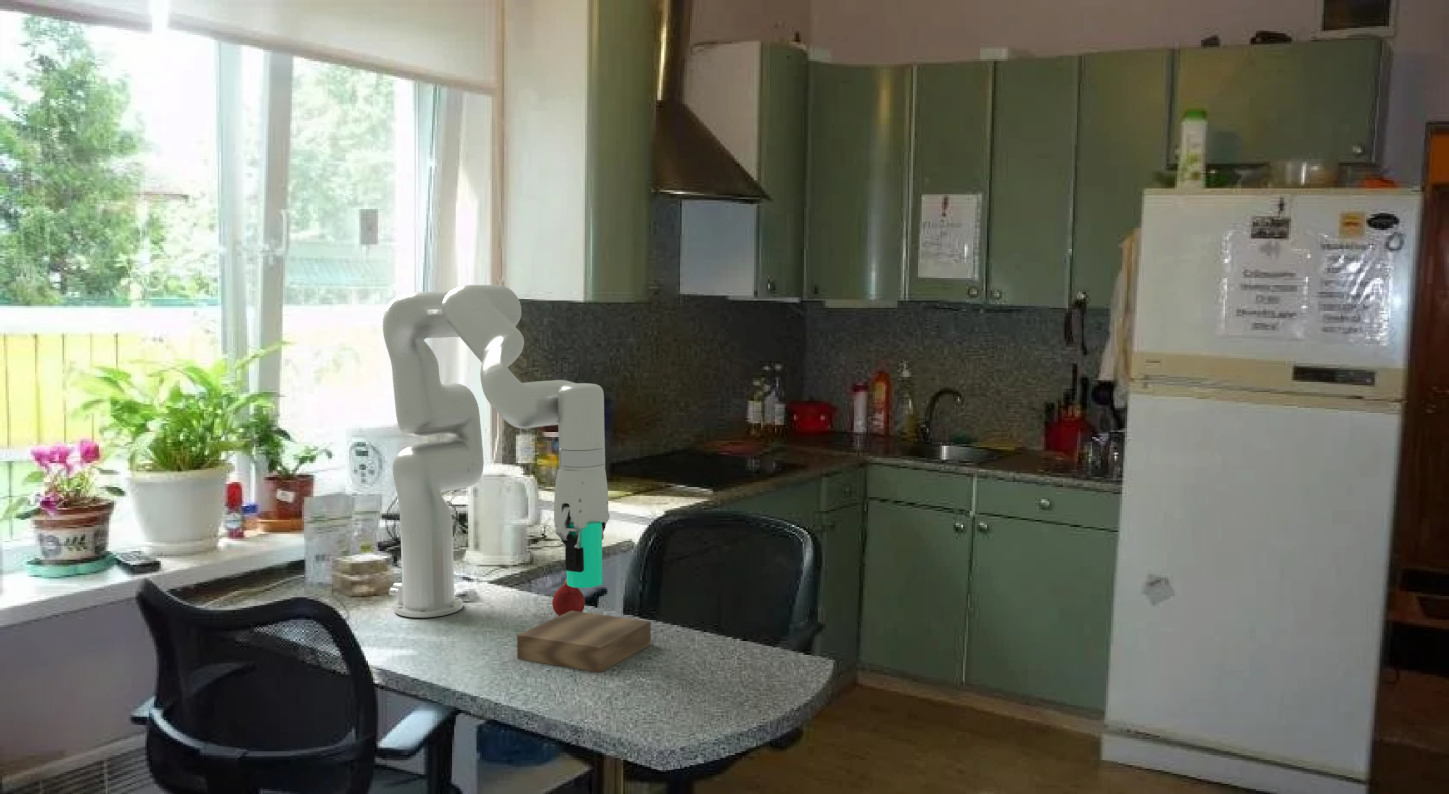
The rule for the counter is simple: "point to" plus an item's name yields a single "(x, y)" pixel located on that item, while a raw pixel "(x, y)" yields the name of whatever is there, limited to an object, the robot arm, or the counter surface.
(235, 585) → the counter surface
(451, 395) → the robot arm
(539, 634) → the walnut base
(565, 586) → the onion
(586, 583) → the candle
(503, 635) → the counter surface
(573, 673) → the counter surface
